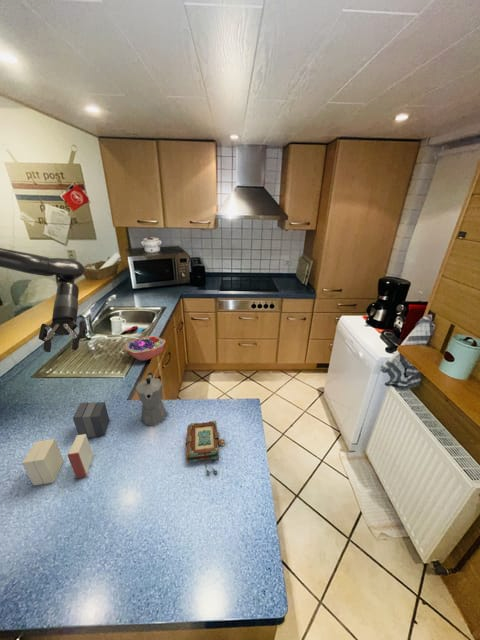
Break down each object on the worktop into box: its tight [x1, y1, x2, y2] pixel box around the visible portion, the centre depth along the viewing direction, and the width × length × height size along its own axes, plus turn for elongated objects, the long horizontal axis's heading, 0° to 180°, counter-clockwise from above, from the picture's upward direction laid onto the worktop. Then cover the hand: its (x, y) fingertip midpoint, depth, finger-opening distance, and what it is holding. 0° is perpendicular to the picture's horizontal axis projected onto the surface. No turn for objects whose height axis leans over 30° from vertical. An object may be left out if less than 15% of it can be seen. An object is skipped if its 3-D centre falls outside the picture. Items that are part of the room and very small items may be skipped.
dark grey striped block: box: [72, 401, 110, 438], centre depth 90 cm, size 8×7×10 cm
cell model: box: [125, 335, 166, 362], centre depth 134 cm, size 17×20×11 cm
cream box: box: [21, 438, 64, 486], centre depth 75 cm, size 5×7×10 cm
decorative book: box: [185, 420, 226, 475], centre depth 84 cm, size 13×18×5 cm
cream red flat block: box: [67, 434, 94, 479], centre depth 77 cm, size 3×7×10 cm, turn 12°
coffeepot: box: [135, 372, 167, 426], centre depth 95 cm, size 15×9×18 cm, turn 16°
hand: (61, 350), depth 89 cm, fingers open, 8 cm apart
